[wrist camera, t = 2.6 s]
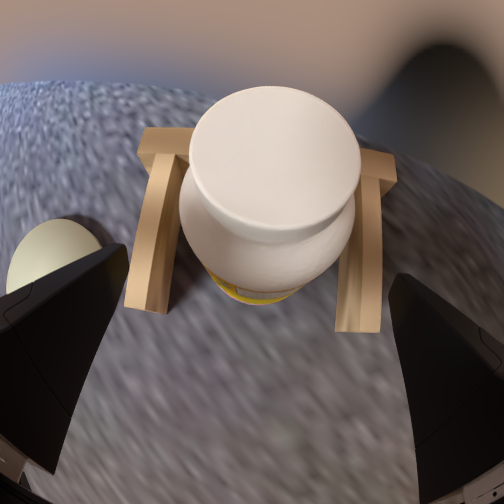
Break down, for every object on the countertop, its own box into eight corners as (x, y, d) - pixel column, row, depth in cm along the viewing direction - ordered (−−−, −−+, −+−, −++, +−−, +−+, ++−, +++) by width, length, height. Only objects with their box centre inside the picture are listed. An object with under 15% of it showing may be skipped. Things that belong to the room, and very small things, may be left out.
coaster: (57, 379, 17) (50, 380, 16) (-1, 285, 19) (-8, 283, 18) (138, 286, 19) (133, 284, 18) (66, 199, 21) (60, 194, 20)
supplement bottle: (207, 211, 21) (166, 69, 8) (302, 207, 21) (362, 70, 8) (208, 309, 19) (143, 275, 7) (311, 304, 19) (416, 261, 7)
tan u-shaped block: (368, 332, 19) (400, 332, 14) (132, 308, 19) (102, 302, 14) (369, 184, 21) (393, 154, 17) (161, 162, 22) (145, 127, 17)
